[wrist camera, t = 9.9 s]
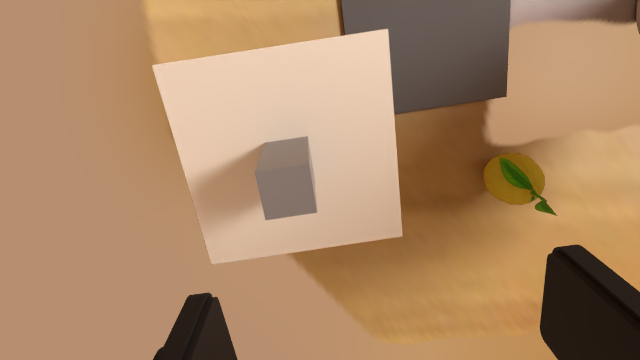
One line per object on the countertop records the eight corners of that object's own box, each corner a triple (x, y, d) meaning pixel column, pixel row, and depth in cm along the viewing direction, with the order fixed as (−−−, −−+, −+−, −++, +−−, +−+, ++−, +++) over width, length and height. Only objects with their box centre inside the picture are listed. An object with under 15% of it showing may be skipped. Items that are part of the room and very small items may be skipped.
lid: (380, 29, 25) (415, 25, 17) (395, 221, 31) (426, 284, 23) (165, 63, 26) (104, 73, 18) (218, 247, 31) (189, 319, 23)
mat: (511, -84, 35) (514, -85, 34) (504, 96, 41) (506, 96, 40) (334, -55, 35) (334, -56, 35) (354, 119, 41) (354, 119, 41)
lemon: (519, 189, 45) (574, 229, 36) (472, 195, 45) (514, 236, 36) (524, 137, 43) (584, 165, 33) (474, 143, 43) (521, 173, 33)
